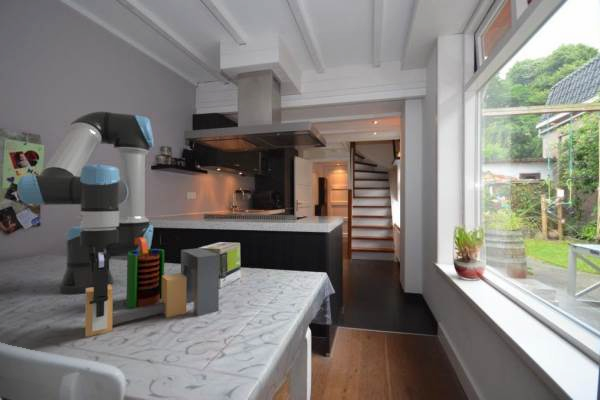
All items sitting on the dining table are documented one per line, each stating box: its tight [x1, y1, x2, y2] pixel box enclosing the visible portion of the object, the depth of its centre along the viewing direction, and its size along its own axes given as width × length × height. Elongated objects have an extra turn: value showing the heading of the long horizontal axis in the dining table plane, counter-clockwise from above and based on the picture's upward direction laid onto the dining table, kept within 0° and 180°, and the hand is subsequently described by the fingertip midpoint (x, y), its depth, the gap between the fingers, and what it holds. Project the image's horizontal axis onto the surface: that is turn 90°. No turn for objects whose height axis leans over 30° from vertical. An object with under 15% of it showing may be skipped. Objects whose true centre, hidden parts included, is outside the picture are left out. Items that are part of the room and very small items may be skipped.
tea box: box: [198, 241, 242, 289], centre depth 104 cm, size 15×10×15 cm, turn 163°
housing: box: [180, 247, 220, 317], centre depth 80 cm, size 15×6×16 cm, turn 40°
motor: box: [125, 237, 165, 309], centre depth 83 cm, size 10×9×20 cm
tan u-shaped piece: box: [84, 272, 187, 338], centre depth 70 cm, size 6×22×10 cm, turn 130°
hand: (98, 324), depth 64 cm, fingers closed on tan u-shaped piece, 5 cm apart
